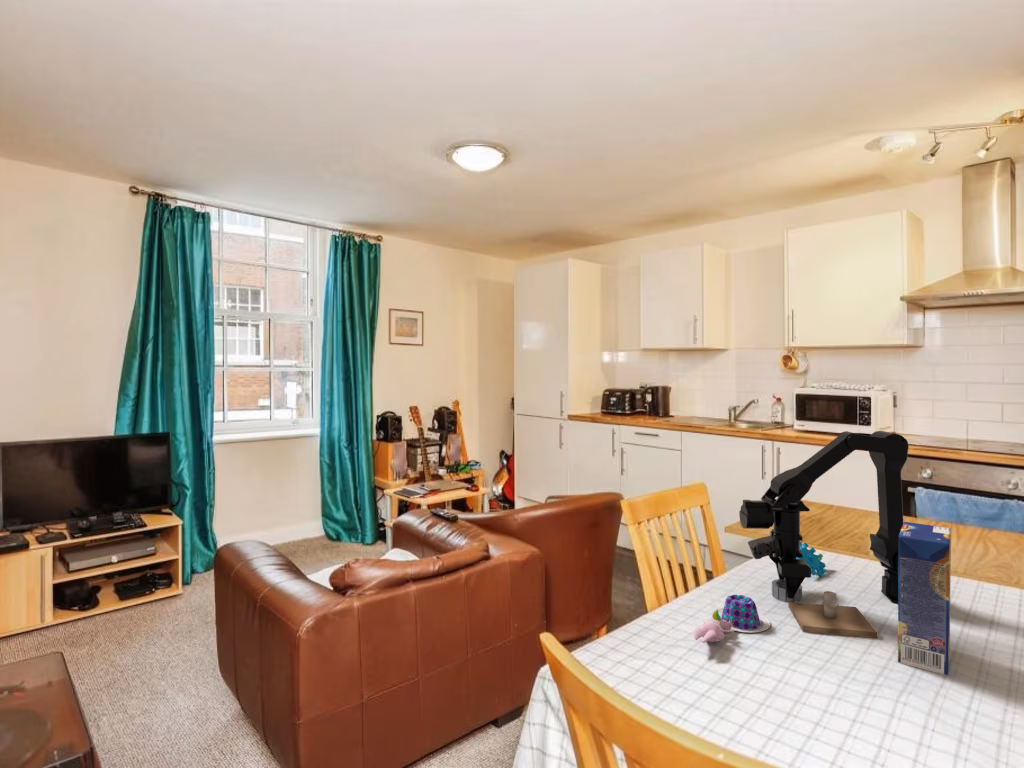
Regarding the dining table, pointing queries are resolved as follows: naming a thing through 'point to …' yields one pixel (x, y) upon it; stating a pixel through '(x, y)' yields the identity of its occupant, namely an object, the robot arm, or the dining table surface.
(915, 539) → the juice carton
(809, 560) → the gear
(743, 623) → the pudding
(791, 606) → the shaft stand
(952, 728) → the dining table surface
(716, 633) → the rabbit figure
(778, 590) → the hub ring
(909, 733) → the dining table surface
